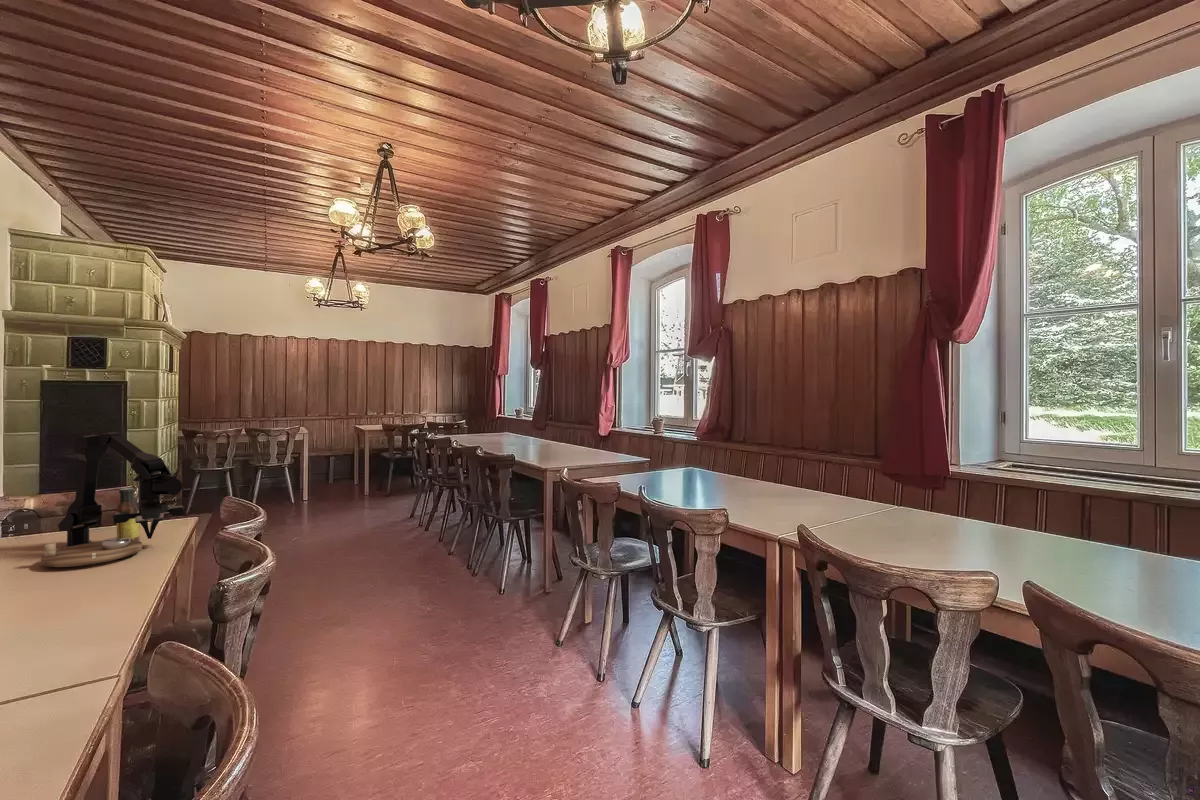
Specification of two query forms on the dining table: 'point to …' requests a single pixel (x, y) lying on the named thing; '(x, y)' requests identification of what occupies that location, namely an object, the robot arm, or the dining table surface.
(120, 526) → the sauce bottle
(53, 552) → the turntable
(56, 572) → the dining table surface
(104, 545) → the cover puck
